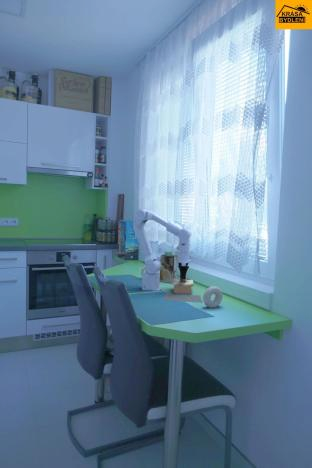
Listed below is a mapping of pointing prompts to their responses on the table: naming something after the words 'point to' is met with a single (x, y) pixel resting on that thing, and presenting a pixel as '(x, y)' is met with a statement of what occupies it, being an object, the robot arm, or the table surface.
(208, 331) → the table surface
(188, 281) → the lid
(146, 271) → the cup
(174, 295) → the mat
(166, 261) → the coffee box
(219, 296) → the donut
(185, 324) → the table surface
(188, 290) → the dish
